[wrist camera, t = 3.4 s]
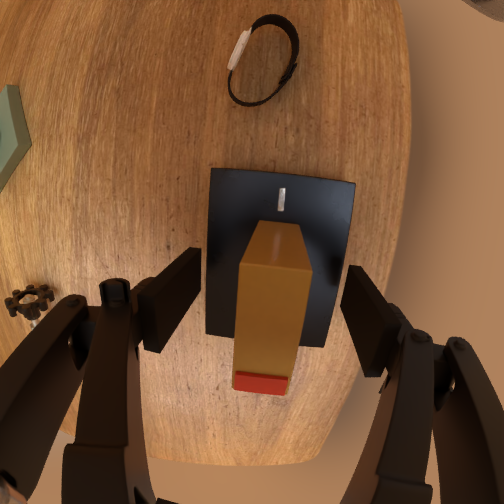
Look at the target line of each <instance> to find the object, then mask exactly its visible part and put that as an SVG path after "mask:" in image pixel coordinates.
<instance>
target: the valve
mask: <svg viewBox="0 0 504 504" xmlns="http://www.w3.org/2000/svg"><path fill="white" fill-rule="evenodd" d="M12 294H13V298H11V297H9V298H6V299H5V305H6V308H7V309H8V311H9V314H10V316H11V317H15V316H17V314H16V311H18V312H19V313H21V314H23V315H24V317H25V318H27V319H28V320H31V322H32V323H31V324H30V326H31V329H32V330H33V329H34V328H35V327H36V325H37V324H38V323H39V322H40V321H39V319H38V318H39V317H40V315H41V313H40V311H46V310H47V309H48V304H47V300H46V299H47V298H49V300H50V302H52V301H54V300H55V298H54V294H53V291H52V290H48V287H47V285H41V286H40V287H39V288H34V285H28V286H26V290H24V291H20V290H14V291H13V292H12ZM34 295H38V299H37V300H35V297H34ZM21 299H23V303H24V304H20V303H19V301H20V300H21Z"/></svg>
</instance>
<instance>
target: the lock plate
mask: <svg viewBox="0 0 504 504" xmlns="http://www.w3.org/2000/svg"><path fill="white" fill-rule="evenodd" d="M355 187H356V183H352V182H347V181H341V180H334V179H327V178H320V177H313V176H305V175H297V174H288V173H279V172H269V171H257V170H245V169H231V168H211V176H210V191H209V209H208V230H207V257H206V314H205V333H206V334H209V335H215V336H221V337H228V338H234V337H235V321H236V306H237V291H238V276H239V264H240V262H241V259H242V257H243V255H244V253H245V251H246V248H247V246H248V244H249V242H250V240H251V237H252V235H253V233H254V231H255V229H256V226H257V224H258V222H259V220H262V221H272V222H281V223H290V224H298V225H299V226H300V230H301V233H302V236H303V240H304V243H305V247H306V250H307V253H308V257H309V260H310V264H311V268H312V271H313V274H312V280H311V286H310V291H309V297H308V302H307V307H306V313H305V318H304V323H303V328H302V332H301V337H300V342H299V346H307V347H321V348H324V345H325V342H326V338H327V334H328V330H329V326H330V322H331V318H332V314H333V310H334V306H335V301H336V297H337V293H338V288H339V283H340V279H341V274H342V269H343V264H344V258H345V253H346V247H347V242H348V236H349V230H350V223H351V217H352V210H353V203H354V195H355Z"/></svg>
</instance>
